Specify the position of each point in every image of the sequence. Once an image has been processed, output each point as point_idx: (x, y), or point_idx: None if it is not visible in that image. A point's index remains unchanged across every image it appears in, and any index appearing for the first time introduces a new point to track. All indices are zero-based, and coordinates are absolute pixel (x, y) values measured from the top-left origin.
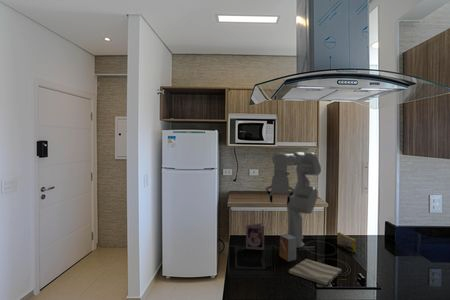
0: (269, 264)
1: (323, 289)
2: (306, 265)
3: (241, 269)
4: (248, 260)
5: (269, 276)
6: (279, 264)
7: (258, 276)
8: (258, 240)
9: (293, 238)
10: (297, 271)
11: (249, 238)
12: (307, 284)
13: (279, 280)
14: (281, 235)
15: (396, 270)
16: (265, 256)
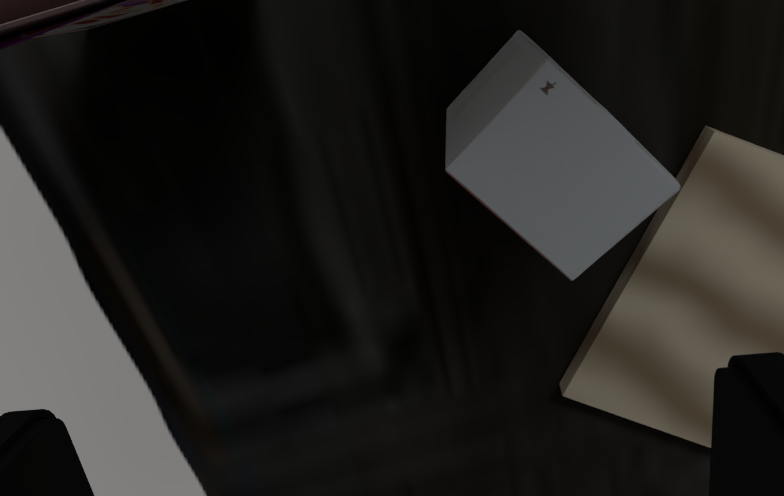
0: (398, 298)
1: None
2: (706, 278)
3: (243, 429)
4: (225, 283)
5: (439, 462)
6: (474, 271)
7: (375, 479)
8: (162, 2)
9: (637, 224)
10: (626, 398)
11: (53, 30)
12: (683, 487)
13: (508, 488)
14: (468, 170)
15: None
16: (325, 152)
